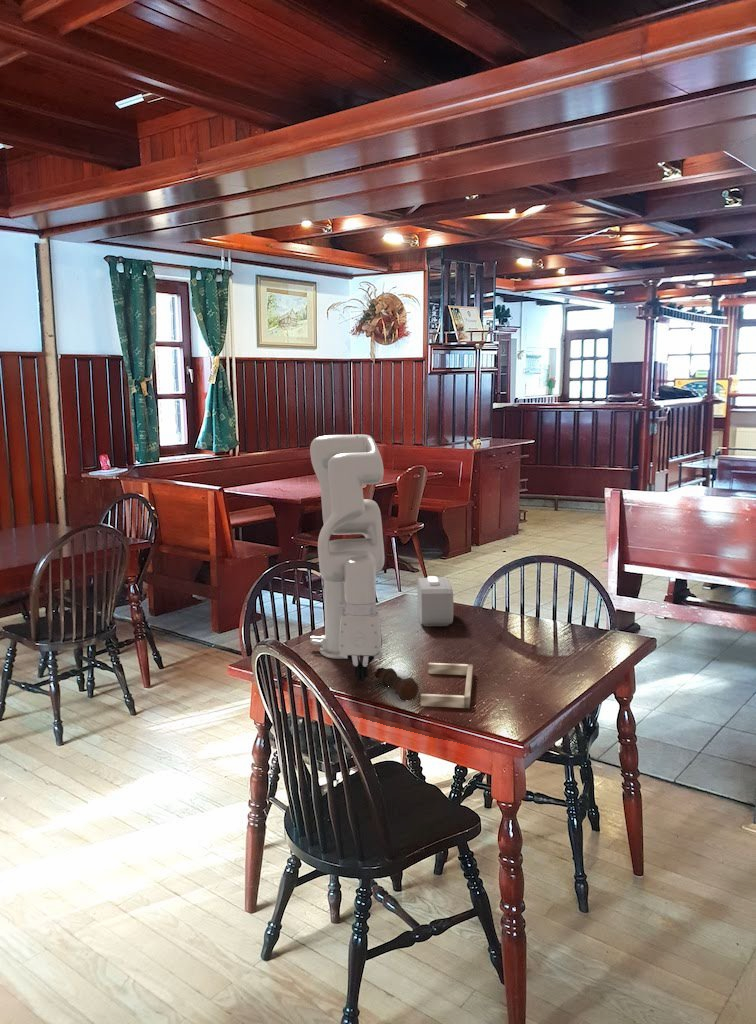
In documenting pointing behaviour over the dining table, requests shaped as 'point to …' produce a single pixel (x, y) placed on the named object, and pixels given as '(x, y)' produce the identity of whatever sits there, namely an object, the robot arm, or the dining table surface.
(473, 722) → the dining table surface
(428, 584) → the grey rounded box
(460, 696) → the dock
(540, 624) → the dining table surface
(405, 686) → the bolt
